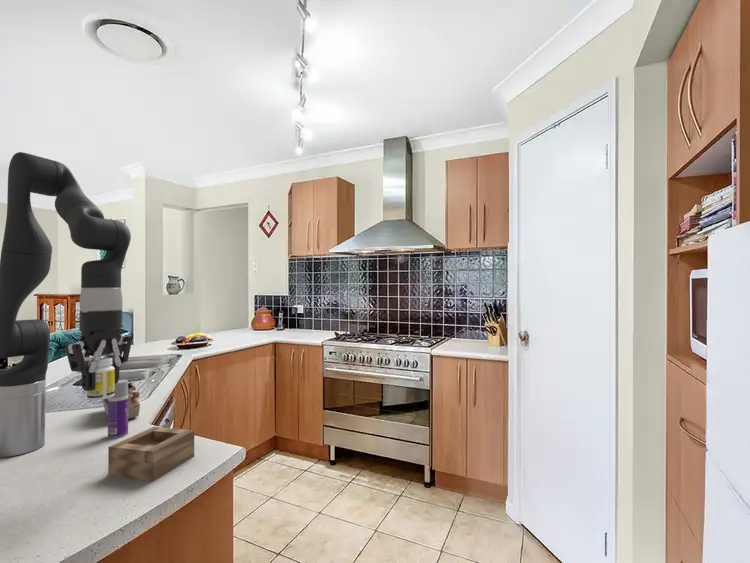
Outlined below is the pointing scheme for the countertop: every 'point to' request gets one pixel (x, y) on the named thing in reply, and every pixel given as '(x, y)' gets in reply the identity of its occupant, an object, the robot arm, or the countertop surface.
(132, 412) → the decorative box
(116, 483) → the countertop surface
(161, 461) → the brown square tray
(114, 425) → the container
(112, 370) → the supplement bottle
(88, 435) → the countertop surface
